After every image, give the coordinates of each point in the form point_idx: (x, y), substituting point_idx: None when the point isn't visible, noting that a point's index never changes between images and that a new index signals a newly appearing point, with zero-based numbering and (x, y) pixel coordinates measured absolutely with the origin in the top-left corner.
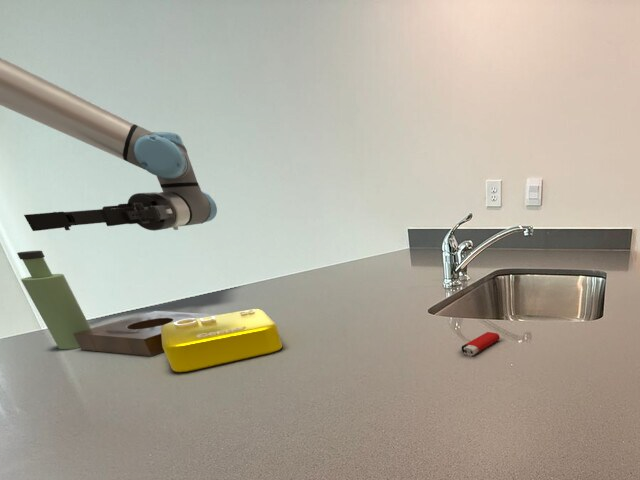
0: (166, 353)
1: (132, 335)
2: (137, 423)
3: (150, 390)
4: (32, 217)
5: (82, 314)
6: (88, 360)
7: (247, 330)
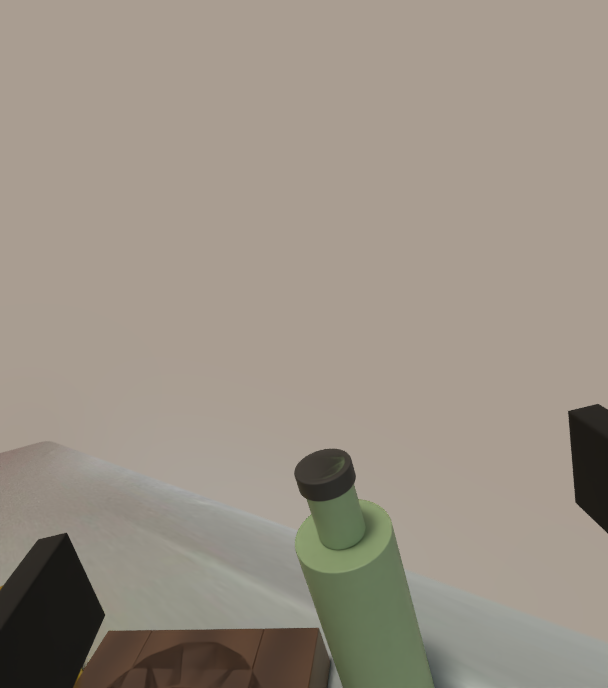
0: None
1: (147, 645)
2: (63, 520)
3: None
4: (580, 438)
5: (336, 662)
6: (248, 617)
7: None
